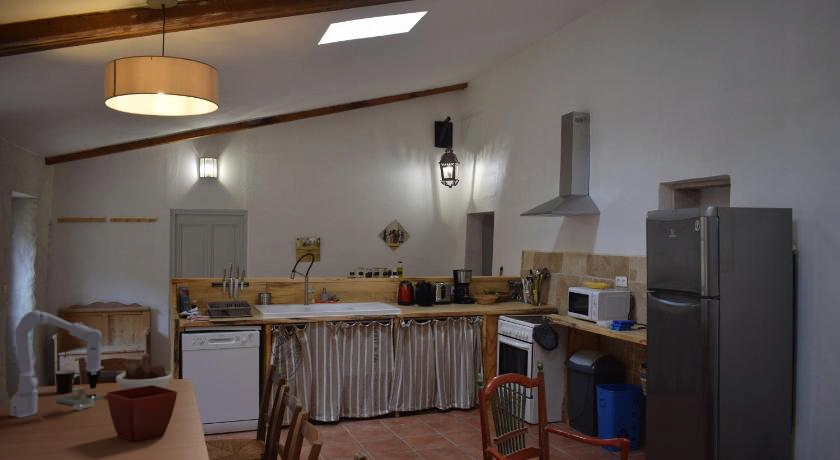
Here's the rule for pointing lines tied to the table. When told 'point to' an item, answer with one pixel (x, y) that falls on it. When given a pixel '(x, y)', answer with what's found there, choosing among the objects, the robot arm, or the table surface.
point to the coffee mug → (64, 381)
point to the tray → (70, 401)
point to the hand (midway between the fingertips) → (92, 388)
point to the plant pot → (141, 411)
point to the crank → (81, 406)
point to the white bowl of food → (144, 377)
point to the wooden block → (78, 393)
